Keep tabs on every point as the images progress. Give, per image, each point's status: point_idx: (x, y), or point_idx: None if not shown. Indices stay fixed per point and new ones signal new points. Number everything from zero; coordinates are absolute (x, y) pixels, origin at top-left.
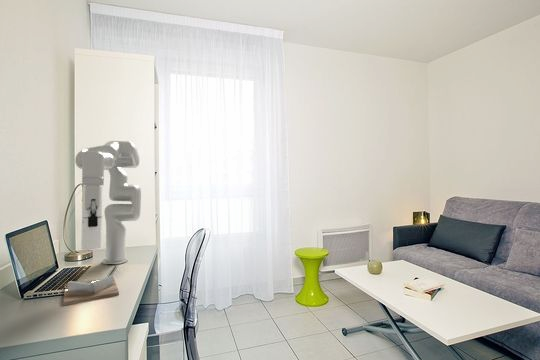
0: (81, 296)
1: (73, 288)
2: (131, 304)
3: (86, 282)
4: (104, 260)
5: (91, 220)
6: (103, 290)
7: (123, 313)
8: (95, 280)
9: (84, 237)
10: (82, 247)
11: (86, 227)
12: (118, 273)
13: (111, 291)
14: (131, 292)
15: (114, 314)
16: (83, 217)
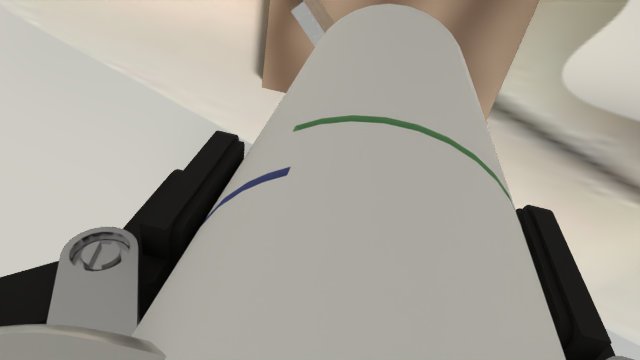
0: None
1: None
2: (150, 83)
3: (502, 12)
4: None
5: (143, 212)
6: None
7: (87, 35)
8: (495, 57)
9: (324, 50)
10: (367, 10)
11: (276, 115)
12: (543, 177)
13: (285, 66)
14: (263, 126)
15: (91, 7)
16: (288, 174)
